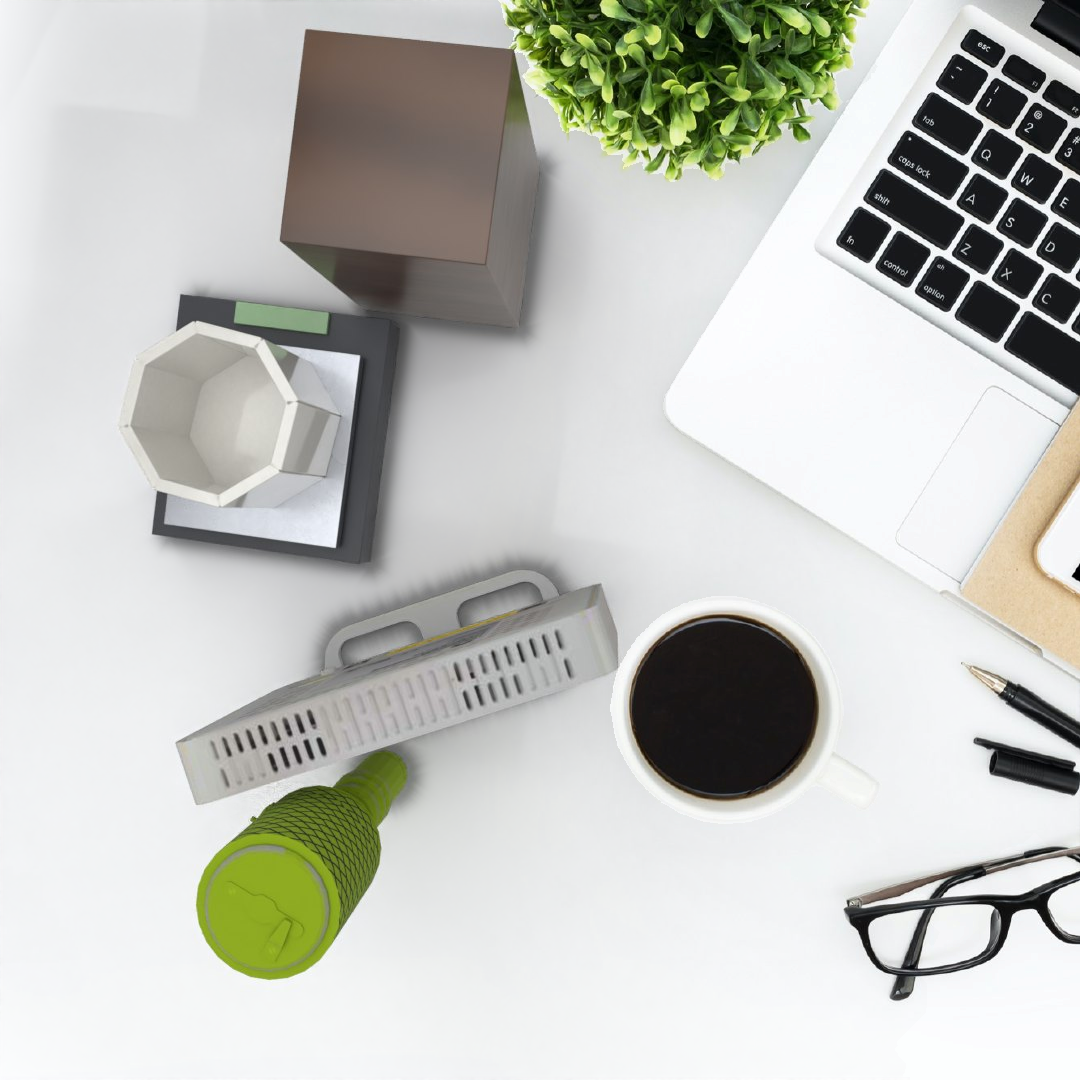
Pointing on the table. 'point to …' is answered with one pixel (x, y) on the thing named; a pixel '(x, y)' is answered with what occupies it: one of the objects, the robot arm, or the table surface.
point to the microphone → (298, 872)
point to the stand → (413, 175)
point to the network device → (407, 685)
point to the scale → (379, 354)
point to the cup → (227, 418)
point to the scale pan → (314, 508)
